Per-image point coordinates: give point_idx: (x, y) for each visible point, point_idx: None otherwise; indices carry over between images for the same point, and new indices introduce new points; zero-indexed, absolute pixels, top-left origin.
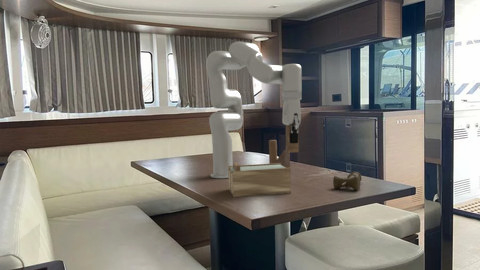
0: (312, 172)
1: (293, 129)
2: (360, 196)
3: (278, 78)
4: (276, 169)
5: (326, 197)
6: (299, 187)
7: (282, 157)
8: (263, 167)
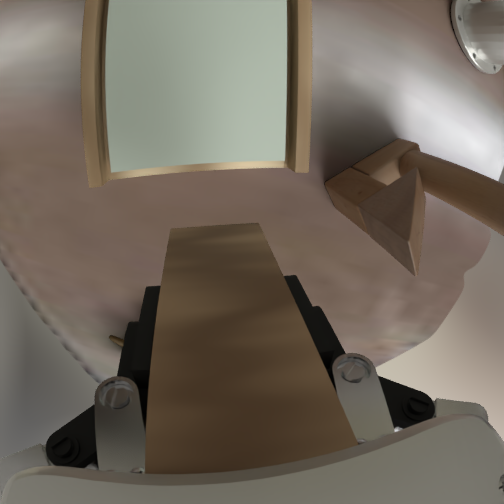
0: (418, 305)
1: (67, 430)
2: (71, 342)
3: None
4: (83, 103)
5: (55, 264)
6: (217, 214)
7: (393, 213)
8: (205, 37)
